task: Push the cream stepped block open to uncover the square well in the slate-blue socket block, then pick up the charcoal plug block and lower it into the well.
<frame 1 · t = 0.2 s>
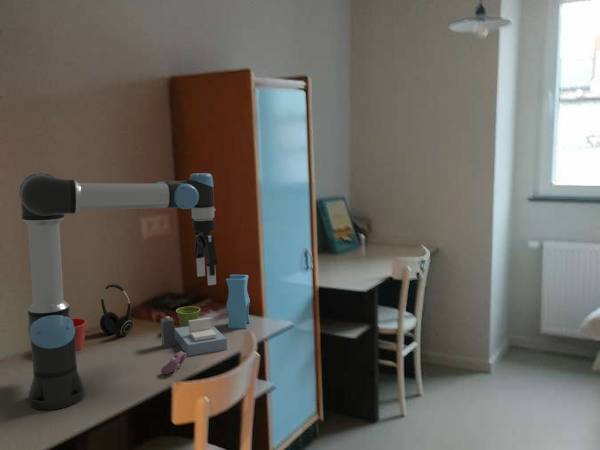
hand: (206, 280, 199), 27 cm above the table, fingers open, 13 cm apart
plant pot: (188, 331, 228), on the table
pink oblong lump: (175, 370, 190), on the table
cream stepped block: (202, 328, 209), point 7 cm above the table, slide at 0.0 cm
socket: (200, 343, 213), on the table
plug: (168, 346, 212), on the table
flower pot: (71, 349, 210), on the table
vase: (238, 325, 235), on the table
headphones: (117, 335, 224), on the table
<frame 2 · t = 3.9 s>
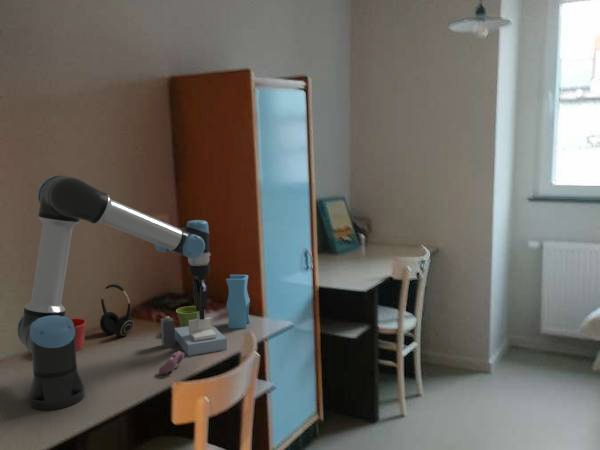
hand: (201, 327, 211), 7 cm above the table, fingers closed
cream stepped block: (202, 328, 209), point 7 cm above the table, slide at 0.1 cm, touching gripper
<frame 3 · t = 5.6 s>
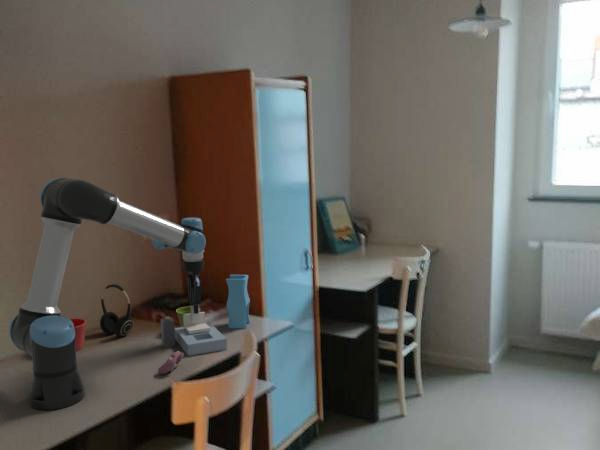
hand: (195, 321, 218), 7 cm above the table, fingers closed
cream stepped block: (196, 322, 216), point 7 cm above the table, slide at 8.0 cm, touching gripper
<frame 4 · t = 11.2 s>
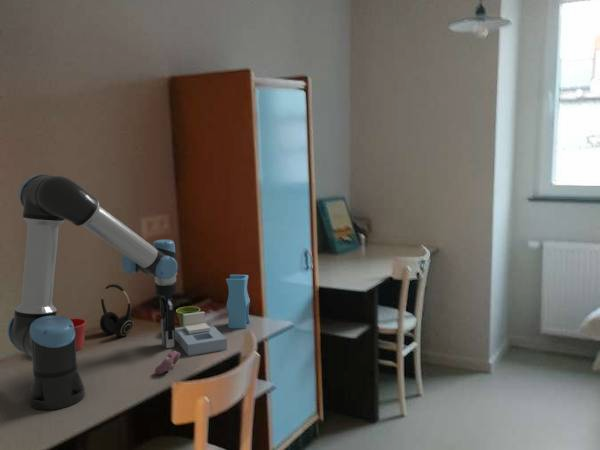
hand: (168, 345, 212), 0 cm above the table, fingers closed on plug, 4 cm apart
pink oblong lump: (168, 370, 190), on the table
cream stepped block: (196, 322, 216), point 7 cm above the table, slide at 8.2 cm
plug: (168, 346, 212), on the table, touching gripper
everything else where it was.
when the fingers open (5 cm above the table, at t = 16.7 s): plug drops 4 cm, resting on socket.
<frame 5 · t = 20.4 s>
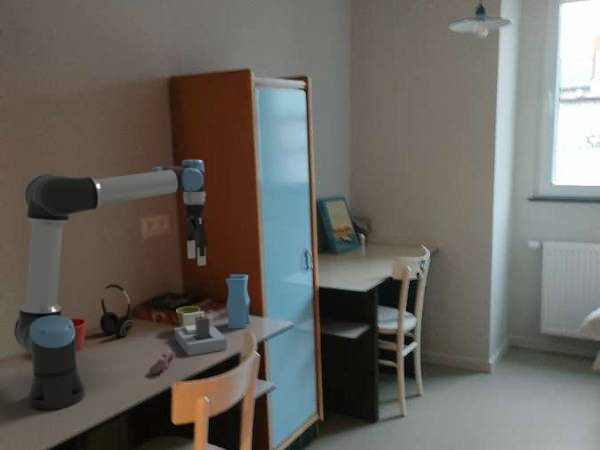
hand: (196, 261, 210), 31 cm above the table, fingers open, 13 cm apart
pink oblong lump: (163, 370, 190), on the table
cream stepped block: (196, 322, 217), point 7 cm above the table, slide at 8.6 cm
plug: (202, 344, 210), point 1 cm above the table, touching socket
everything else where it was.
at the end: plug 0.1 cm from the target spot on the socket, point 1.0 cm above the socket's base; plug tilted 0°; cream stepped block slide at 8.6 cm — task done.
